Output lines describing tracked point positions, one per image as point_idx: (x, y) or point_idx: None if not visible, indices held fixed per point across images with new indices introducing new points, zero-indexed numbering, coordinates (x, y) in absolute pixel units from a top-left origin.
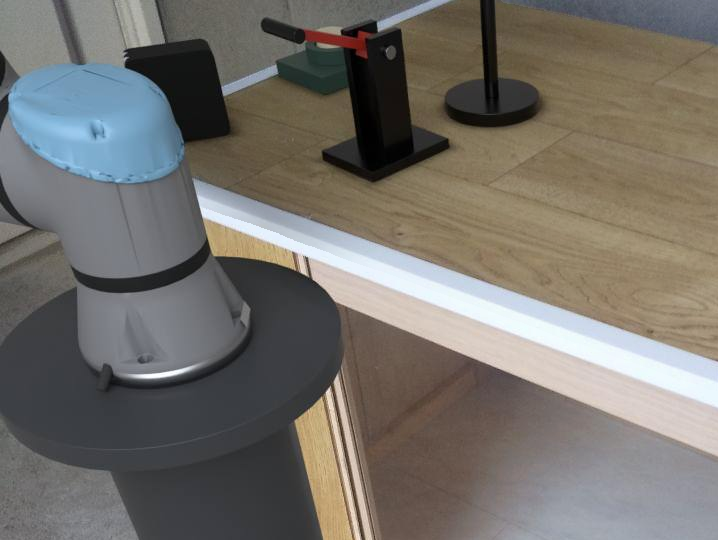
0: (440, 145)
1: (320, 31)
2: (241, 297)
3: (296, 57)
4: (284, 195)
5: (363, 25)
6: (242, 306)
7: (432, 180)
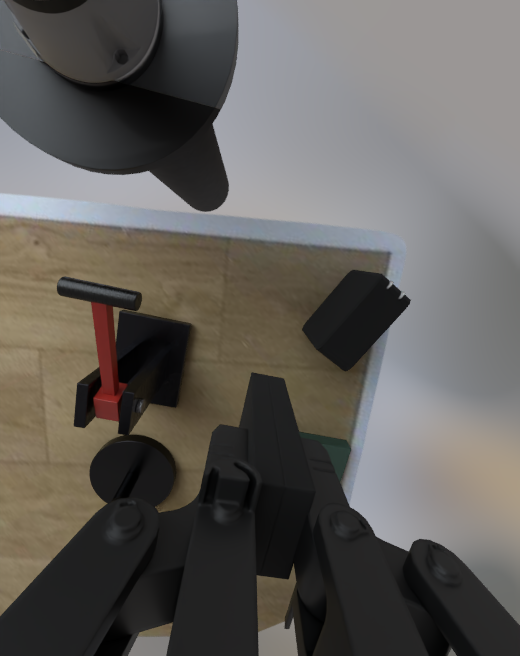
0: None
1: (109, 350)
2: (45, 58)
3: (337, 462)
4: (173, 253)
5: (120, 415)
6: (34, 47)
7: (84, 336)
